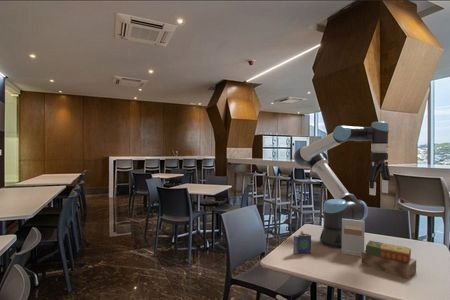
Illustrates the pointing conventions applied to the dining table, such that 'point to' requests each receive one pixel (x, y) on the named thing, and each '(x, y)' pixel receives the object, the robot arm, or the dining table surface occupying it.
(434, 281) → the dining table surface
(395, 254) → the carton
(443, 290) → the dining table surface
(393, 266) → the walnut block
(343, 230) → the board
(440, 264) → the dining table surface
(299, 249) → the flask
